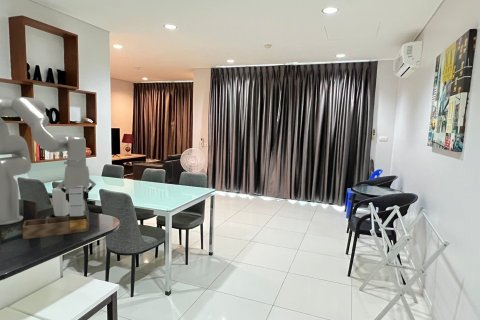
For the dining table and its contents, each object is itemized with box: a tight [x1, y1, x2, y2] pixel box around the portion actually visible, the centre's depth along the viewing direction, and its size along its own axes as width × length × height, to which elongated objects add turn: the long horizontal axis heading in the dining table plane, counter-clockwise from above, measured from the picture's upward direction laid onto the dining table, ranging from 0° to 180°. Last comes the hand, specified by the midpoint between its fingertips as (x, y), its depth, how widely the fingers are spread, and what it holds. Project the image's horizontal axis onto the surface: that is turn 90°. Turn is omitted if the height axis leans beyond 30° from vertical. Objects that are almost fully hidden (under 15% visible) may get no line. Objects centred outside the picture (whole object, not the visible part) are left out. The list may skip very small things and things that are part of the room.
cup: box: [51, 186, 70, 218], centre depth 159 cm, size 7×7×15 cm
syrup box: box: [69, 186, 86, 216], centre depth 140 cm, size 6×6×14 cm
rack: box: [22, 214, 90, 240], centre depth 137 cm, size 25×9×6 cm, turn 121°
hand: (77, 200), depth 140 cm, fingers closed on syrup box, 6 cm apart
